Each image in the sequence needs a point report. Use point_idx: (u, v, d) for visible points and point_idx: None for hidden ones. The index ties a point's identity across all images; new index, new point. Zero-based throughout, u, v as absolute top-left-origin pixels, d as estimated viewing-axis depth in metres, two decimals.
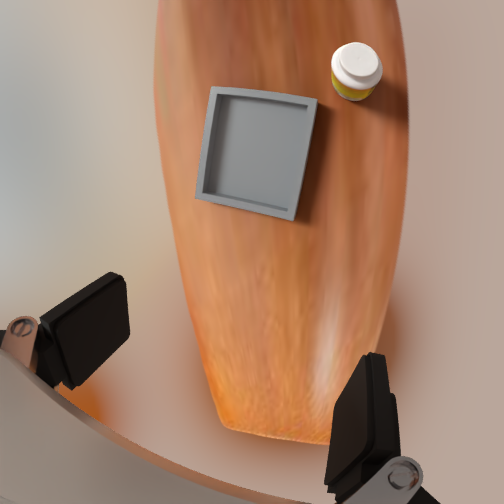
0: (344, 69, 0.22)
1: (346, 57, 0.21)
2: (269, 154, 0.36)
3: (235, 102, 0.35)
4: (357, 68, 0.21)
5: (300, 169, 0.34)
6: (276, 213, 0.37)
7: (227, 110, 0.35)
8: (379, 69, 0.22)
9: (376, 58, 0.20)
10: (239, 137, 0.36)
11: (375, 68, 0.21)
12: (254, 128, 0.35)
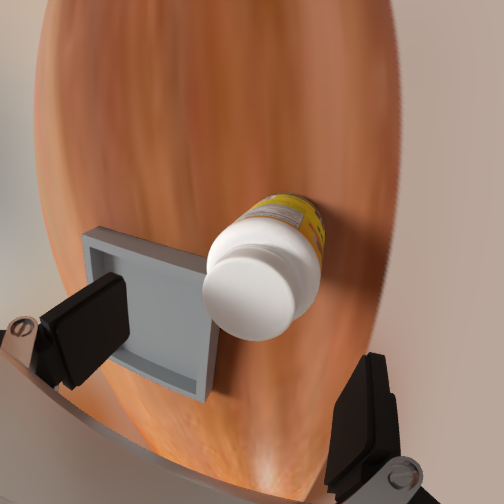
0: None
1: (216, 298, 0.12)
2: (168, 326, 0.26)
3: None
4: (241, 325, 0.12)
5: (202, 362, 0.24)
6: (184, 393, 0.27)
7: (111, 260, 0.26)
8: (308, 293, 0.12)
9: (290, 304, 0.11)
10: (131, 299, 0.27)
11: (284, 327, 0.11)
12: (145, 292, 0.26)
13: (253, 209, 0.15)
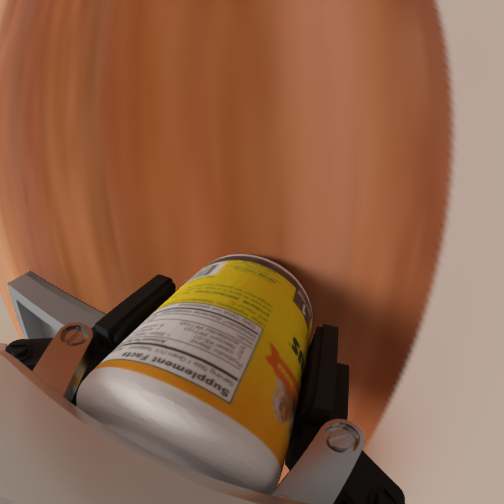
0: None
1: None
2: None
3: None
4: None
5: None
6: None
7: None
8: None
9: None
10: None
11: None
12: None
13: (160, 316, 0.07)
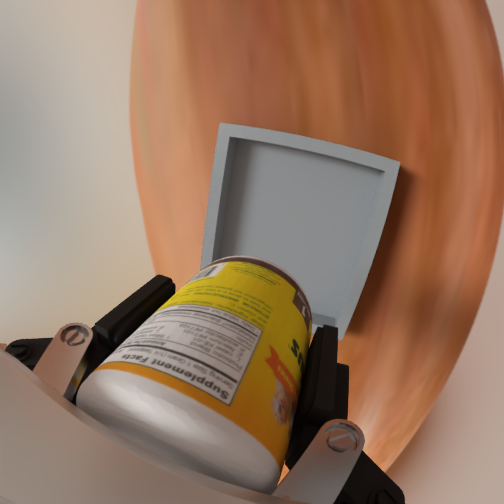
0: None
1: None
2: (312, 241, 0.24)
3: (259, 150, 0.22)
4: None
5: (362, 274, 0.21)
6: None
7: (246, 162, 0.23)
8: None
9: None
10: (265, 210, 0.24)
11: None
12: (291, 197, 0.23)
13: (159, 317, 0.07)
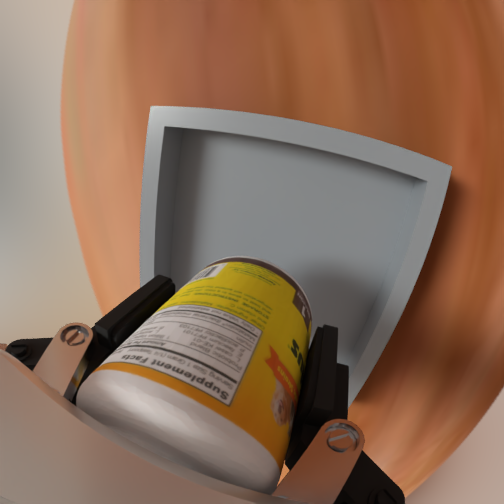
0: None
1: None
2: None
3: (217, 146, 0.14)
4: None
5: (377, 344, 0.13)
6: None
7: (197, 166, 0.14)
8: None
9: None
10: (229, 241, 0.15)
11: None
12: (267, 222, 0.14)
13: (159, 318, 0.07)
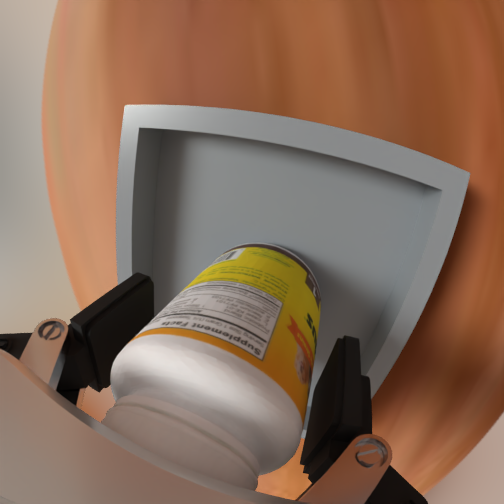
0: None
1: None
2: None
3: (199, 149, 0.12)
4: None
5: (379, 372, 0.11)
6: (303, 434, 0.14)
7: (178, 172, 0.13)
8: (277, 461, 0.06)
9: None
10: (214, 256, 0.14)
11: None
12: (256, 235, 0.13)
13: (191, 292, 0.08)
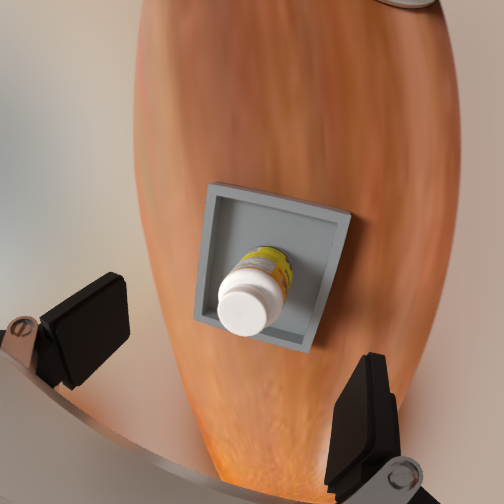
0: None
1: (225, 312, 0.21)
2: None
3: (240, 204, 0.29)
4: (238, 327, 0.21)
5: (321, 302, 0.28)
6: (289, 345, 0.31)
7: (230, 213, 0.30)
8: (276, 310, 0.22)
9: (264, 315, 0.21)
10: (246, 251, 0.31)
11: (261, 328, 0.21)
12: (265, 242, 0.30)
13: (245, 260, 0.25)
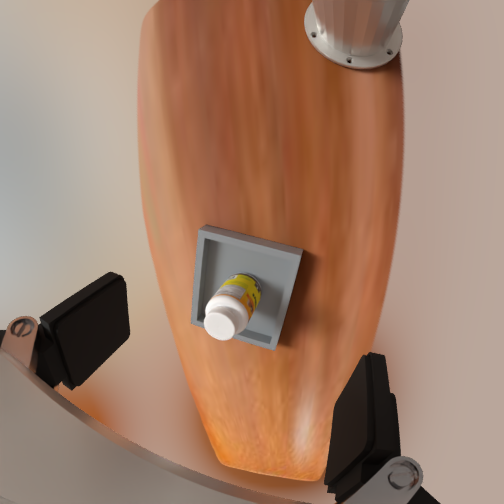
0: None
1: (208, 325, 0.32)
2: None
3: (223, 242, 0.40)
4: (217, 334, 0.33)
5: (281, 315, 0.39)
6: (260, 344, 0.42)
7: (215, 249, 0.40)
8: (243, 323, 0.33)
9: (233, 328, 0.32)
10: (228, 276, 0.41)
11: (232, 335, 0.32)
12: (241, 270, 0.40)
13: (224, 287, 0.36)
